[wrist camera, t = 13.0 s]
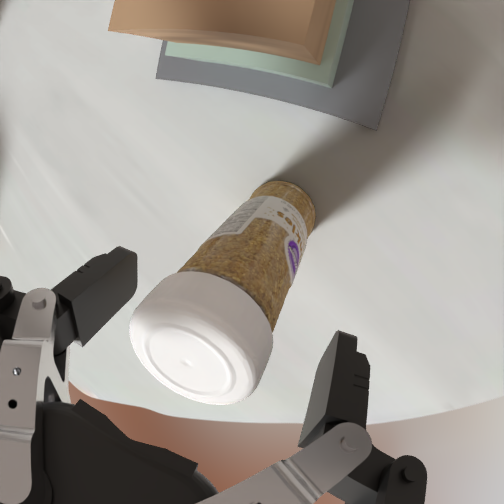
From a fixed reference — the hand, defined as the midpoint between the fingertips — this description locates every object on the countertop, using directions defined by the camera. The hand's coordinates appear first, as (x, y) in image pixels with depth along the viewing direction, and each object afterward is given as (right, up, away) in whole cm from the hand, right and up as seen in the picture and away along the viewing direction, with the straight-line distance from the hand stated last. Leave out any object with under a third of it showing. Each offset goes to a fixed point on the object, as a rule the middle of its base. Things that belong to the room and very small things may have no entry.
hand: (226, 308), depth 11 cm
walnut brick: (+1, +13, -1) cm, 13 cm away
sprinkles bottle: (+3, +5, +9) cm, 11 cm away
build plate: (+3, +16, +3) cm, 16 cm away
